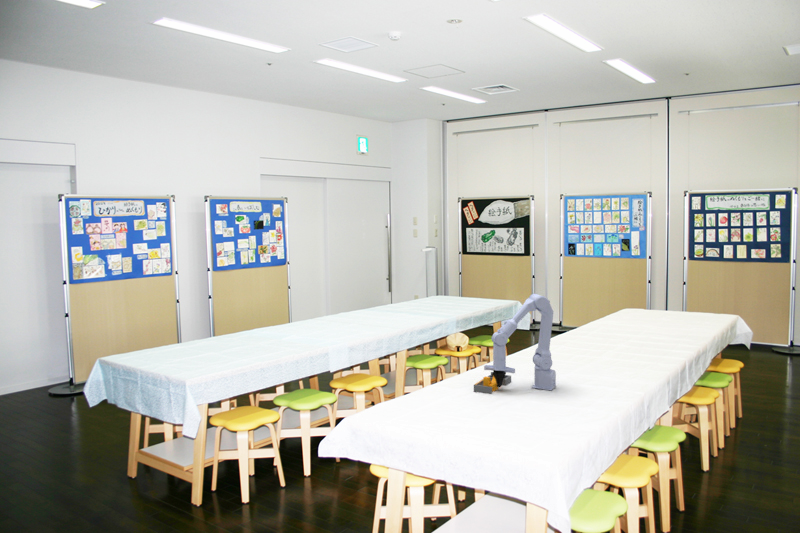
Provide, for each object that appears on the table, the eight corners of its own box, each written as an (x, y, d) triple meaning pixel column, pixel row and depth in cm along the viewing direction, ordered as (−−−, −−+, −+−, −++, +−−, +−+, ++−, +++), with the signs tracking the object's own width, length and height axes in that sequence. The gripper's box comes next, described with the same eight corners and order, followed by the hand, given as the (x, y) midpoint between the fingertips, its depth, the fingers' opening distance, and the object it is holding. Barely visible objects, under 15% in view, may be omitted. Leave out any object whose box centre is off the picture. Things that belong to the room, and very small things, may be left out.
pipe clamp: (491, 392, 270) (491, 378, 270) (483, 391, 273) (483, 377, 272) (503, 386, 280) (503, 373, 279) (495, 385, 282) (495, 371, 282)
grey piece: (511, 381, 287) (511, 370, 287) (493, 394, 267) (493, 382, 267) (492, 379, 292) (492, 368, 292) (473, 391, 272) (473, 379, 272)
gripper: (481, 358, 273) (481, 386, 274) (511, 361, 266) (511, 390, 267) (487, 355, 279) (487, 383, 280) (516, 358, 272) (516, 386, 273)
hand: (499, 386), depth 274 cm, fingers closed
